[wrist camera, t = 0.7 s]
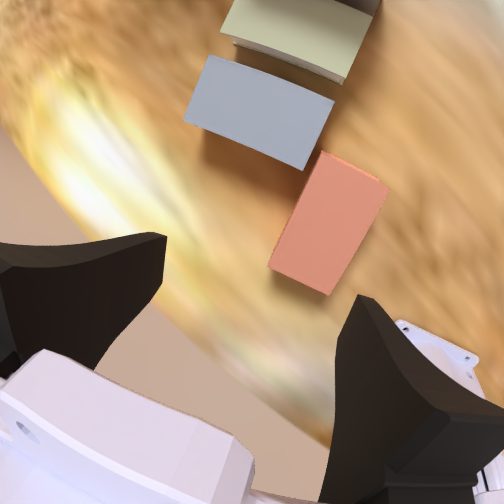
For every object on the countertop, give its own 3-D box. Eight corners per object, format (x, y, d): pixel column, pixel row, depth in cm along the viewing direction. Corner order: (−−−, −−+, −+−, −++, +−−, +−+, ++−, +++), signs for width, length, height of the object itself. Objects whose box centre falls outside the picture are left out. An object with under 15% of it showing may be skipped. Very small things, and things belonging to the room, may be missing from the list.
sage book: (366, 32, 15) (373, 17, 12) (341, 85, 16) (345, 78, 14) (258, -7, 15) (248, -26, 12) (234, 44, 16) (219, 31, 14)
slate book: (332, 105, 17) (334, 101, 14) (305, 164, 19) (302, 171, 16) (225, 63, 17) (209, 54, 14) (202, 120, 19) (182, 120, 16)
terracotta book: (321, 149, 18) (321, 153, 15) (380, 179, 18) (390, 189, 15) (274, 247, 21) (266, 266, 18) (328, 273, 21) (329, 295, 18)
